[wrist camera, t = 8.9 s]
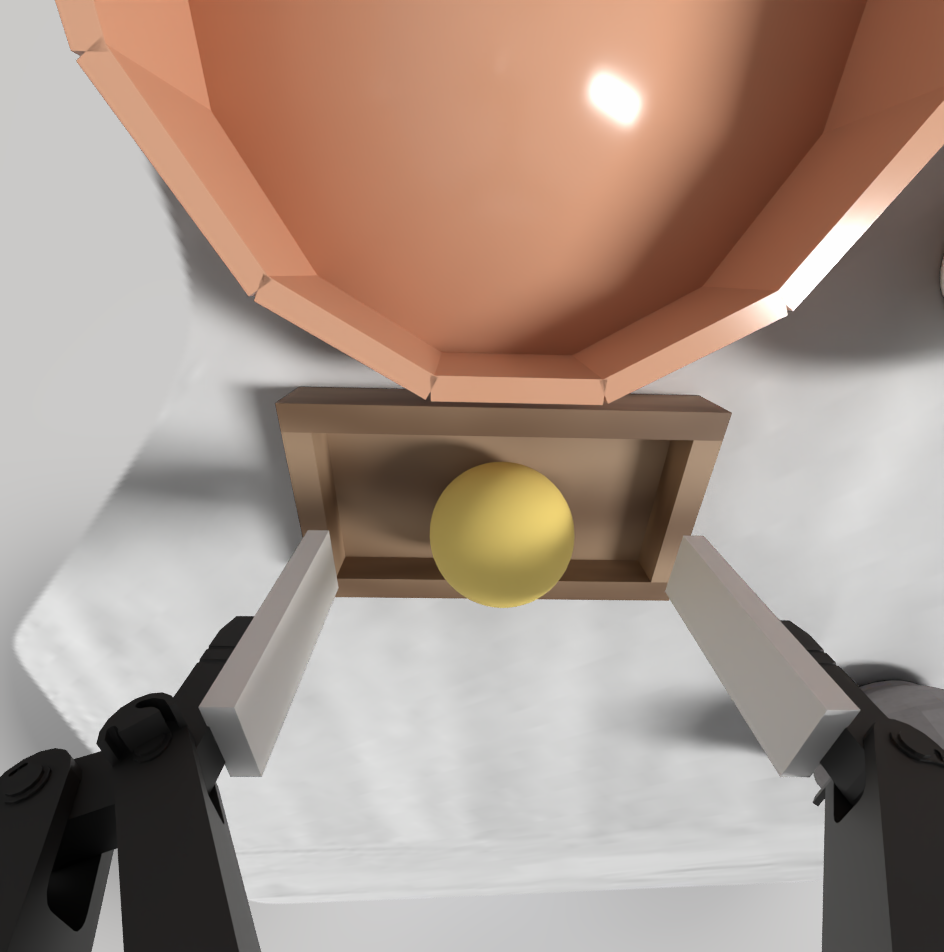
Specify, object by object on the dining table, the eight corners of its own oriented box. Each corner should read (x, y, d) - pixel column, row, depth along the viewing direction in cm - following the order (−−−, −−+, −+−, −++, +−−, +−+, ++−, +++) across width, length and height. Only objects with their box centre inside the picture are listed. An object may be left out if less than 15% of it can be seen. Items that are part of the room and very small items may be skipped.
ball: (434, 438, 18) (419, 508, 13) (565, 441, 18) (606, 512, 13) (436, 545, 21) (424, 640, 15) (550, 547, 21) (578, 642, 15)
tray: (299, 386, 18) (275, 403, 15) (699, 395, 18) (731, 412, 16) (330, 564, 22) (314, 596, 20) (648, 568, 23) (668, 600, 20)
